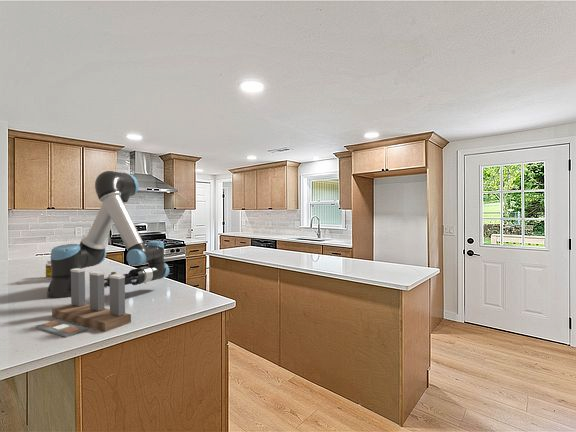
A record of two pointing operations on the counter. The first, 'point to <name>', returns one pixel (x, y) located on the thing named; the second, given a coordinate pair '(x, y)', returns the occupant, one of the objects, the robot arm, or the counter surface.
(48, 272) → the supplement bottle
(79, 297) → the key inner
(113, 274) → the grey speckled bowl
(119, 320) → the brown wooden board
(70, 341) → the counter surface
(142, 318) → the counter surface
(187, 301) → the counter surface
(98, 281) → the key middle
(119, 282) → the key outer
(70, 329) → the pattern card
